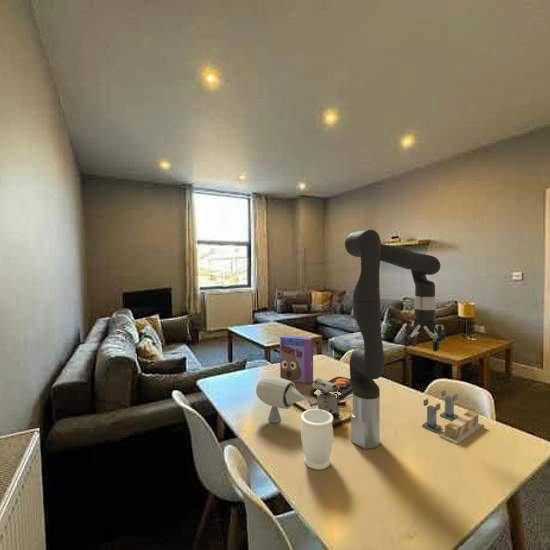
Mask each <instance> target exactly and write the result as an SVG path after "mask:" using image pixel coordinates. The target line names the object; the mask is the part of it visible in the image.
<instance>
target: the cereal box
mask: <svg viewBox="0 0 550 550" xmlns="http://www.w3.org/2000/svg"><path fill="white" fill-rule="evenodd" d="M279 363H280V364H279V367H280V368H279V369H280V370H279V378H283V379H286V380H289V381H291V382H293V383H300V384H307V385H312V384H313V382H314V337H308V336H295V335H285V334H284V335H281V336H280V337H279Z"/></svg>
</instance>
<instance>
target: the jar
mask: <svg viewBox="0 0 550 550" xmlns="http://www.w3.org/2000/svg"><path fill="white" fill-rule="evenodd" d="M300 419H301V426H300V427H301V429H300V439H301V445H302V451H303V454H304V459H303V461H304V463H305V465H306V466H307V467H309V469H312V470H316V471H317V470H324V469H326V468H328V467H329V466H330V465H331V459H330V457H331V454H332V452H333V451H332V450H333V444H334V427H333V422H334V415H332V414H331V413H329V412H327V411H325V410H321V409H318V408H311V409H307V410H305V411H303V412H302V413H301V414H300Z"/></svg>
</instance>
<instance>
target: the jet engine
mask: <svg viewBox="0 0 550 550" xmlns="http://www.w3.org/2000/svg"><path fill="white" fill-rule="evenodd" d="M255 390H256V392H255V393H256V396H257V398H258V399H259V400H260V401H261V402H263V403H264V404H265V405H268V406H270V407H271V408H270V411H269V414H268V417H267V421H268V422H270V423H279V422H281V421H282V417H281V415H280V411H279V409H282V410H283V409H284V410H289V409H291V407H293V405H294V404H296V403H298V402H302V401H303V400H306V398H305V397H304V396H303V395H302V394H301V393H300V392H299V391H298V390H297V386H296V384H295V382H292V381H289V380H286V379H283V378H280V376H264V377H262V378H261V379H260V380H259V381H258V382H257V385H256V389H255Z"/></svg>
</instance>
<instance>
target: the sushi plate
mask: <svg viewBox="0 0 550 550" xmlns="http://www.w3.org/2000/svg"><path fill="white" fill-rule="evenodd" d="M329 380H330V383H333V384H335V385H337V386H338V390H337V391H338V392H340V393H341V395H339V396H342V397H343V396H350V395H353V392H352V393H350V392H351V391H353V388H352V386H351V382H350V378H348V377H344V376H335V377H333V378H331V379H329ZM329 380H327V381H328V382H329ZM316 390H317V389H315V388H313V389H312V390H311V391H310V394H311V395H313V396H315V395H316V394H314V392H315V391H316ZM337 391H335V392H337ZM330 392H331V391H330Z"/></svg>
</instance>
